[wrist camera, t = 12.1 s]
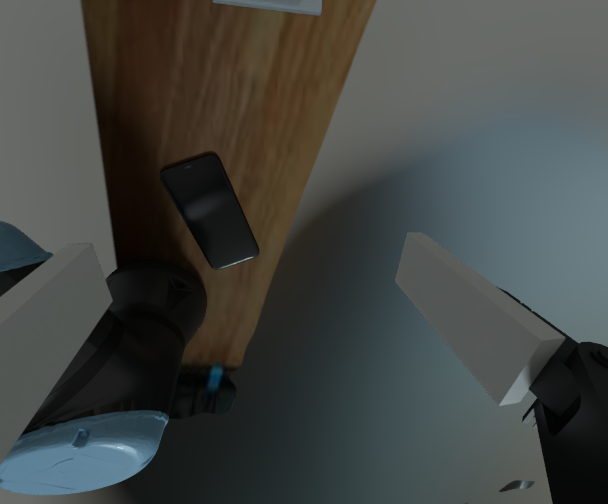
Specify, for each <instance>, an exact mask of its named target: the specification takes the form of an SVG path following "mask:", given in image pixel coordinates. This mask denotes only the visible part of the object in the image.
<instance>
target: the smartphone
mask: <svg viewBox="0 0 608 504" xmlns="http://www.w3.org/2000/svg"><path fill="white" fill-rule="evenodd" d="M160 179H161V181H162V183H163V185H164V186H165V188H166V190H167V192H168V193H169V195H170V197H171V199H172V201H173V202H174V204H175V205H176V208H177V209H178V211H179V213H180V214H181V216H182V218H183V219H184V221H185V223H186V224H187V226H188V228H189V230H190V231H191V233H192V235H193V237H194V238H195V240H196V242H197V244H198V245H199V247H200V249H201V250H202V252H203V254H204V256H205V257H206V259H207V261H208V263H209V264H210V266H211V267H212V268H213V269H215V270H220V269H223V268H226V267H229V266H232V265H235V264H237V263H240V262H243V261H246V260H249V259H252V258H255V257H256V256H258V254H259V248H258V246H257V243H256V241H255V239H254V237H253V234H252V232H251V230H250V228H249V225H248V223H247V221H246V218H245V216H244V214H243V212H242V209H241V207H240V205H239V203H238V200H237V198H236V196H235V193H234V190H233V188H232V186H231V184H230V181H229V180H228V177H227V175H226V173H225V171H224V168H223V166H222V164H221V162H220V160H219V158H218V157H217V156H215V155H213V154H209V155H205V156H202V157H199V158H196V159H193V160H190V161H187V162H184V163H181V164H178V165H175V166H173V167H170V168H167V169H164V170H163V171H162V172H161V173H160Z"/></svg>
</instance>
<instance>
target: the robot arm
mask: <svg viewBox="0 0 608 504" xmlns="http://www.w3.org/2000/svg"><path fill="white" fill-rule="evenodd" d="M395 282H396V283H397V284H398V286H399V287H400V288H401V289H402V290H403V292H404V293H405V294H406V295H407V296H408V298H409V299H410V300H411V301H412V302H413V304H414V305H415V306H416V307H417V308H418V310H419V311H420V312H421V313H422V314H423V316H424V317H425V318H426V319H427V320H428V322H429V323H430V324H431V325H432V326H433V328H434V329H435V330H436V331H437V332H438V334H439V335H440V336H441V337H442V339H443V340H444V341H445V342H446V343H447V345H448V346H449V347H450V348H451V349H452V351H453V352H454V353H455V354H456V355H457V357H458V358H459V359H460V360H461V361H462V362H463V364H464V365H465V366H466V367H467V369H468V370H469V371H470V372H471V373H472V375H473V376H474V377H475V378H476V379H477V381H478V382H479V383H480V384H481V385H482V387H483V388H484V389H485V390H486V391H487V393H488V394H489V395H490V396H491V397H492V399H493V400H494V401H495V402H496V403H497V405H498V406H501V405H507V404H513V403H519V402H520V401H521V400H522V398H523V397H524V395H525V394H526V393H527V391H528V390H530V391H532V393H533V394H534V395H535V396H536V397H537V399H536V400H535V402H534V403H533V404H532V405H531V407H530V408H529V409H528V411H527V412H526V413H525V415H524V416H523V419H522V423H524V424H527V423H528V422H529V421H530V420H531V418H532V417H535V418H536V423H535V424H534V425H533V428H535V429H537V430H538V433H539V438H540V443H541V448H542V453H543V458H544V462H545V468H546V473H547V477H548V483H549V487H550V492H551V497H552V502H553V504H608V347H606V346H603V345H601V344H597V343H592V342H581V343H580V344H579V343H577V342H576V341H574V340H573V339H572V338H570V337H569V336H567V335H566V334H565V333H563V332H562V331H561V330H559V329H558V328H556V327H555V326H554V325H552V324H551V323H550V322H548V321H547V320H545V319H544V318H543V317H541V316H540V315H538V314H537V313H535V312H534V311H533V312H532V311H531V309H530V308H529V307H527V306H526V305H524V304H523V303H520V301H519V300H518V299H516V298H515V297H514V296H512V295H511V294H509V293H508V292H506V291H504V290H502V289H500V288H498V287H496V286H494V285H493V284H492V283H490V282H489V281H488V280H486V279H485V278H484V277H482V276H481V275H480V274H478V273H477V272H476V271H474V270H473V269H471V268H470V267H469V266H467V265H466V264H465V263H463V262H462V261H460V260H459V259H458V258H456V257H455V256H453V255H452V254H451V253H450V252H448V251H447V250H446V249H444V248H443V247H441V246H440V245H439V244H437V243H436V242H435V241H433V240H432V239H431V238H429V237H428V236H426V235H425V234H424V233H422V232H416V233H407V237H406V240H405V245H404V248H403V252H402V256H401V260H400V264H399V268H398V271H397V276H396V279H395ZM206 308H207V297H206V294H205V291H204V289H203V287H202V285H201V284H200V283H199V282H198V280H197V279H196V278H195V277H194V276H192V275H191V274H190V273H188V272H187V271H185V270H183V269H182V268H179V267H177V266H175V265H172V264H168V263H164V262H159V261H139V262H133V263H130V264H127V265H124V266H122V267H120V268H118V269H116V270H115V271H114V272H112V273H111V274H110V275H109V276H108V277H107V279H106V280H105V278H104V275H103V272H102V270H101V267H100V264H99V262H98V259H97V256H96V253H95V251H94V248H93V245H92V243H82V244H81V243H78V244H68V245H66V246H65V247H64V248H62V249H61V250H60V251H59V252H57V253H56V254H55V255H53V254H52V253H50V252H46V251H44V249H42V248H41V247H40V246H39V245H37V244H36V243H35V242H34V241H33V240H31V239H30V238H29V237H28V236H26V235H25V234H24V233H23V232H21V231H20V230H19V229H17V228H16V227H15V226H13V225H11V224H9V223H6V222H2V221H0V487H1V488H3V489H6V490H8V491H12V492H17V493H23V494H33V495H60V494H71V493H78V492H84V491H90V490H94V489H98V488H102V487H106V486H109V485H112V484H115V483H118V482H120V481H123V480H125V479H127V478H129V477H131V476H132V475H134V474H136V473H137V472H139V471H140V470H142V469H143V468H144V467H145V466H146V465H147V464H148V463H149V462H150V461H151V459H152V458H153V457H154V455H155V453H156V451H157V449H158V446H159V442H160V439H161V436H162V433H163V430H164V427H165V426H166V424H167V422H168V416H169V412H170V408H171V403H172V399H173V395H174V391H175V387H176V382H177V378H178V374H179V370H180V365H181V361H182V357H183V353H184V349H185V347H186V345H187V344H188V343H189V341H190V340H191V339H192V337H193V336H194V335H195V333H196V332H197V330H198V329H199V328H200V326H201V325H202V323H203V320H204V317H205V313H206Z"/></svg>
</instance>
